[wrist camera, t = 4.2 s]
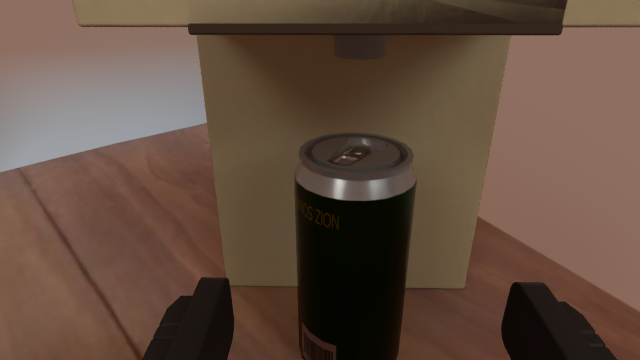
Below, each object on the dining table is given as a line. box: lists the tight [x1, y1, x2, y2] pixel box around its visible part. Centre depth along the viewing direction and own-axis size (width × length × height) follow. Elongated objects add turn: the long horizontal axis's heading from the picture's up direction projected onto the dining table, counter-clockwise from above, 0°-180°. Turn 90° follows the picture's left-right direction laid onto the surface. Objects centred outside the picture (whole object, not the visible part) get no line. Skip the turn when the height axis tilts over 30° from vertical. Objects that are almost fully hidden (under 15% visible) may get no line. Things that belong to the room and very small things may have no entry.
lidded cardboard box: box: [72, 0, 640, 289], centre depth 24 cm, size 20×16×20 cm
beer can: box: [294, 133, 417, 360], centre depth 21 cm, size 5×5×12 cm
